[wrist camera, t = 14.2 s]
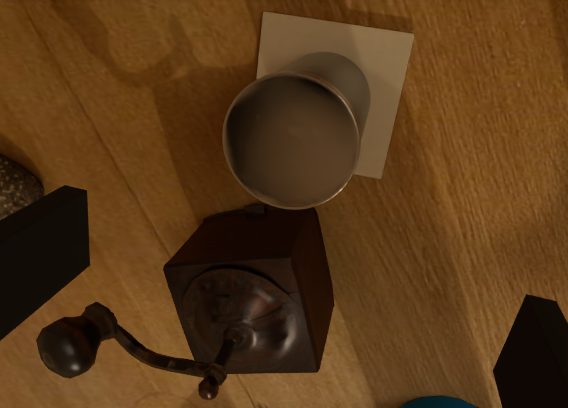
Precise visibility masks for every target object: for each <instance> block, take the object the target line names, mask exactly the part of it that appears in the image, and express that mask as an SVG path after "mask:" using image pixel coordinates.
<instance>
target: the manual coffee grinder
mask: <svg viewBox="0 0 568 408" xmlns="http://www.w3.org/2000/svg"><path fill="white" fill-rule="evenodd" d="M163 270H164V274H165V277H166V280H167V284H168V287H169V290H170V292H171V295H172V298H173V301H174V304H175V307H176V310H177V313H178V316H179V320H180V323H181V325H182V328H183V331H184V334H185V336H186V339H187V342H188V345H189V347H190V350H191V352H192V355H193V357H194V360H195V361H194V360H189V359H183V358H174V357H170V356H166V355H162V354H158V353H155V352H153V351H151V350H149V349H147V348H146V347H144V346H143V345H142V344H141V343H139V342H138V341H137V340H136V339H135V338H134V337H133V336H132V335H131V334H130V333H128V332H127V331H126V330H125V329H123V328H122V327H121V326H120V325H118V324H117V319H116V317H115V316H114V313H112V312H111V311H110V310H109V308H107V307H105V306H104V305H102V304H100V303H98V302H95V303H93V304H91V305H89V306H87V307H86V308H85V311H84V312H83V313H82V315H81V316H77V317H64V318H61V319H59V320H57V321H55V322H53V323H51V324H50V325H48V326H46V327H45V328H43V329H42V330H41V332H40V334H39V336H38V338H37V340H36V341H37V346H38V351H39V354H40V357H41V359H42V361H43V362H44V364H45V365H46V367H47V368H48V369H50V370H51V371H52V372H54V373H56V374H58V375H60V376H62V377H65V378H73V377H76V376H79V375H81V374H83V373H85V372H86V371H88V370H89V369H90V368H91V367H92V366H93V364H94V363H95V359H96V355H97V350H98V348H99V346H100V344H101V342H102V341H104V340H108V339H111V338H115V339H116V340H117V342H118V343H119V344H120V345H121V346H122V347H123V348H124V349H125V350H126V351H127V352H128V353H129V354H131V355H132V356H133V357H135V358H136V359H138V360H139V361H140V362H142V363H145V364H147V365H149V366H151V367H154V368H158V369H162V370H166V371H170V372H176V373H182V374H187V375H192V376H198V377H203V378H204V379H203V380H202V381H201V382H200V383H199V395H200V396H201V398H202V399H204V400H212V399H214V398H215V397H216V396H217V394H218V390H219V386H220V385H222V383H223V382H224V381H225V380H226V378H227V374H251V373H314V372H318V371H319V369H320V365H321V360H322V356H323V352H324V347H325V343H326V339H327V334H328V330H329V325H330V320H331V316H332V311H333V307H334V297H333V287H332V281H331V276H330V271H329V267H328V262H327V257H326V252H325V247H324V242H323V238H322V233H321V228H320V224H319V219H318V215H317V212H316V210H315V209H314V207H311V208H307V209H298V210H293V209H283V208H278V207H274V206H271V205H265V204H254V205H249V206H245V209H242V210H236V211H230V212H224V213H221V214H218V215H215V216H211V217H208V218H205V219H204V221H203V223H202V224H201V226H200V227H199V228H198V229H197V230H196V231H195V232H194V233H193V235H192V236H191V237H190V238H189V239H188V240H187V241H186V242H185V243H184V245H183V246H182V247H181V248H180V249H179V250H178V251H177V252H176V254H175V255H174V256H173V257H172V258H171V259H170V260H169V261H168V262H167V263H166V264H165V265H164V267H163Z"/></svg>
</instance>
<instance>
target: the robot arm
mask: <svg viewBox="0 0 568 408" xmlns="http://www.w3.org/2000/svg"><path fill="white" fill-rule="evenodd" d="M88 266H90V254H89V229H88V203H87V190H83V189H79V188H74V187H70V186H66V185H64V186H63V187H61V188H59V189H57V190H55V191H53V192H51V193H50V194H48V195H46V196H44V197H42V198H40V199H38V200H36V201H35V202H33V203H31V204H29V205H27V206H25V207H23V208H22V209H20V210H18V211H16V212H14V213H12V214H10V215H9V216H7V217H5V218H3V219H1V220H0V340H2V339H3V338H4V337H5V336H6V335H8V334H9V333H10V332H11V331H12V330H14V329H15V328H16V327H17V326H18V325H20V324H21V323H22V322H23V321H24V320H25V319H27V318H28V317H29V316H30V315H31V314H33V313H34V312H35V311H36V310H37V309H39V308H40V307H41V306H42V305H43V304H44V303H46V302H47V301H48V300H49V299H50V298H52V297H53V296H54V295H55V294H56V293H58V292H59V291H60V290H61V289H62V288H64V287H65V286H66V285H67V284H68V283H69V282H71V281H72V280H73V279H74V278H75V277H77V276H78V275H79V274H80V273H81V272H83V271H84V270H85V269H86V268H87V267H88ZM493 373H494V377H495V381H496V385H497V388H498V392H499V396H500V400H501V404H502V408H568V323H567V321H566V319H565V317H564V315H563V313H562V311H561V310H560V308H559V306H558V304H557V302H556V301H553V300H549V299H544V298H540V297H536V296H532V295H527V294H526V296H525V298H524V301H523V303H522V305H521V308H520V310H519V312H518V314H517V317H516V319H515V321H514V324H513V326H512V328H511V330H510V333H509V335H508V337H507V340H506V342H505V344H504V346H503V349H502V351H501V353H500V356H499V358H498V360H497V362H496V365H495V367H494V369H493Z"/></svg>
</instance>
